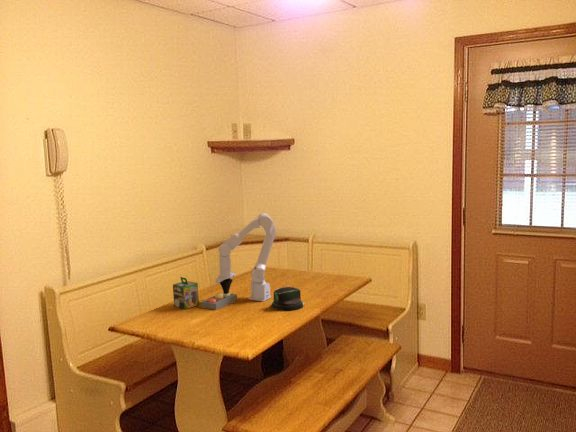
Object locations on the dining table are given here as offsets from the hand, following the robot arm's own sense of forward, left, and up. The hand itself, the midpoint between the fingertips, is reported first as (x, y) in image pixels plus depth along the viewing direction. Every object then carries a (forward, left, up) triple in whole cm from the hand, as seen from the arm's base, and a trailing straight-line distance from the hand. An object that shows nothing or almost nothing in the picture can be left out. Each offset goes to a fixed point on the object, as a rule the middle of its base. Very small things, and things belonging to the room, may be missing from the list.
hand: (226, 293), depth 277 cm
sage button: (0, 0, -3) cm, 3 cm away
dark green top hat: (-33, -5, -4) cm, 33 cm away
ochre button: (0, +6, -2) cm, 6 cm away
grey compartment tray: (0, +6, -4) cm, 7 cm away
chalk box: (+13, +16, -4) cm, 21 cm away
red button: (0, +12, -3) cm, 12 cm away
